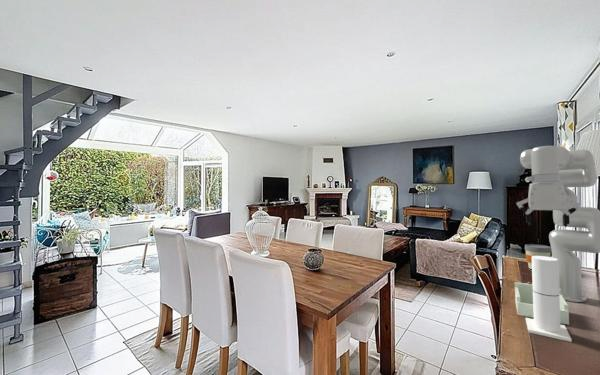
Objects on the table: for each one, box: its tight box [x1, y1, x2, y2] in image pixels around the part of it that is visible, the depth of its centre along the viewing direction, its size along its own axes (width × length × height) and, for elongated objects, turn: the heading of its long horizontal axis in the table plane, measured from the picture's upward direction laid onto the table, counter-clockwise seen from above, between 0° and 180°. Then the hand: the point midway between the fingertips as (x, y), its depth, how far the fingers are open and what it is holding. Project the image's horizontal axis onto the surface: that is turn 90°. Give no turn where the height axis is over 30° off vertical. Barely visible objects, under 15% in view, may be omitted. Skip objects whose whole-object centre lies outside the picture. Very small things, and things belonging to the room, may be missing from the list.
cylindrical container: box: [531, 256, 561, 332], centre depth 97 cm, size 7×7×25 cm
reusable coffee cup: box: [524, 243, 552, 270], centre depth 168 cm, size 13×13×15 cm
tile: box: [525, 317, 573, 343], centre depth 97 cm, size 11×11×1 cm
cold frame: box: [514, 281, 570, 326], centre depth 111 cm, size 15×15×9 cm
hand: (547, 225), depth 99 cm, fingers open, 9 cm apart
